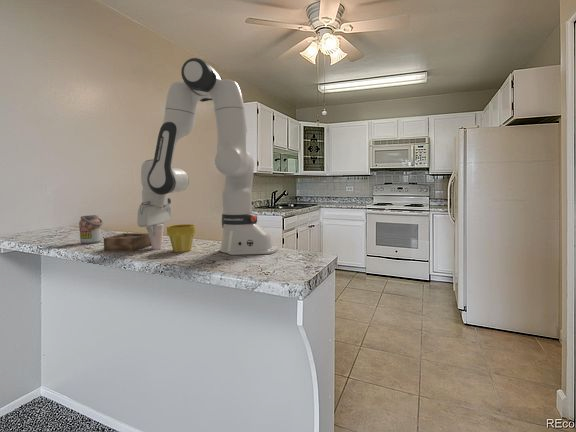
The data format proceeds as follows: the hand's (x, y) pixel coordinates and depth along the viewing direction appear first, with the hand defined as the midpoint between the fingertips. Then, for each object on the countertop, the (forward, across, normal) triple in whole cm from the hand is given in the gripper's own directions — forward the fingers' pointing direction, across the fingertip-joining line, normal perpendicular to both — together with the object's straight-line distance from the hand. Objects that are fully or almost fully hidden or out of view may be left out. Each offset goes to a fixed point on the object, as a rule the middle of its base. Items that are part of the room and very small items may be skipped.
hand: (156, 235), depth 131 cm
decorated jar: (+6, +11, +36) cm, 38 cm away
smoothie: (+6, 0, 0) cm, 6 cm away
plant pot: (+6, -3, -12) cm, 14 cm away
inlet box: (+5, 0, +12) cm, 13 cm away
